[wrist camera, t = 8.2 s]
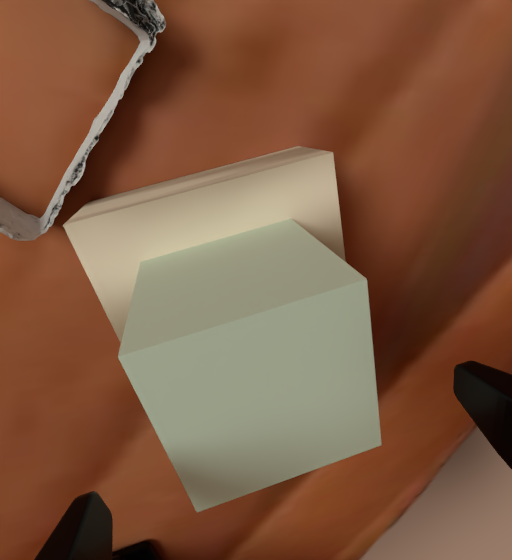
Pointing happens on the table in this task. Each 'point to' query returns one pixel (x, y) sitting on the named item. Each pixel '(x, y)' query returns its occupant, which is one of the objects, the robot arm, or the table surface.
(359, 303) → the green cube
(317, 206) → the beige square block
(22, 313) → the table surface
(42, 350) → the table surface
